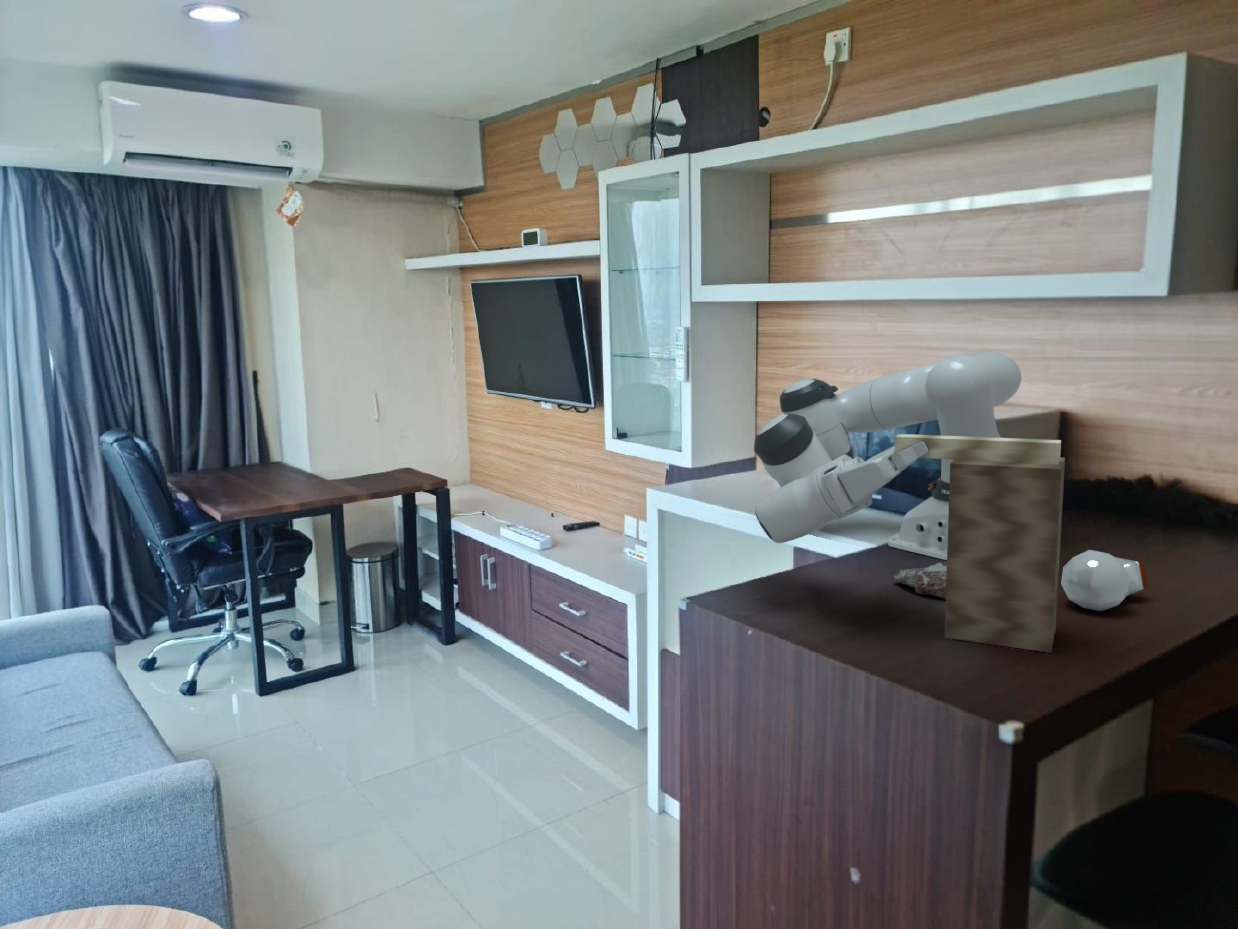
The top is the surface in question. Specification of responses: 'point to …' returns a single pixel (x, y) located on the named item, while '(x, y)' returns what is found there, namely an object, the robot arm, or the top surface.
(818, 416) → the robot arm
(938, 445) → the birch bar
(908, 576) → the mineral rock
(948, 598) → the walnut block
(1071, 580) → the potion bottle
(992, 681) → the top surface
